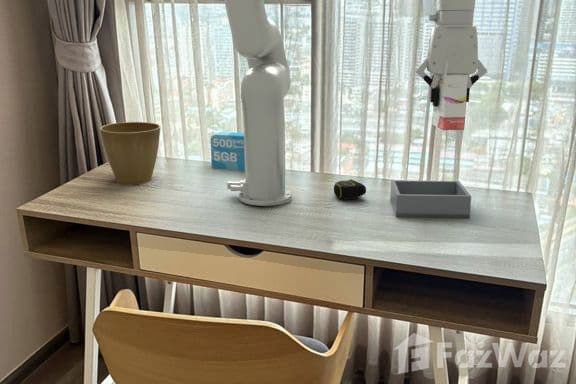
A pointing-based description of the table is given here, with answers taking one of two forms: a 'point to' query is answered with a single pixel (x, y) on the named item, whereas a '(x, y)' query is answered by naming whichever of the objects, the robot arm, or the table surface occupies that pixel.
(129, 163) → the plant pot
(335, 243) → the table surface
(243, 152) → the data package
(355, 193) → the tape measure
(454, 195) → the tote
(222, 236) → the table surface
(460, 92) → the ink cartridge box
